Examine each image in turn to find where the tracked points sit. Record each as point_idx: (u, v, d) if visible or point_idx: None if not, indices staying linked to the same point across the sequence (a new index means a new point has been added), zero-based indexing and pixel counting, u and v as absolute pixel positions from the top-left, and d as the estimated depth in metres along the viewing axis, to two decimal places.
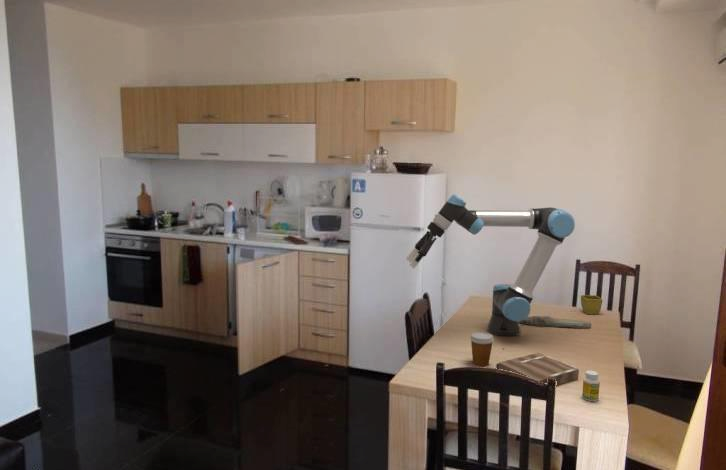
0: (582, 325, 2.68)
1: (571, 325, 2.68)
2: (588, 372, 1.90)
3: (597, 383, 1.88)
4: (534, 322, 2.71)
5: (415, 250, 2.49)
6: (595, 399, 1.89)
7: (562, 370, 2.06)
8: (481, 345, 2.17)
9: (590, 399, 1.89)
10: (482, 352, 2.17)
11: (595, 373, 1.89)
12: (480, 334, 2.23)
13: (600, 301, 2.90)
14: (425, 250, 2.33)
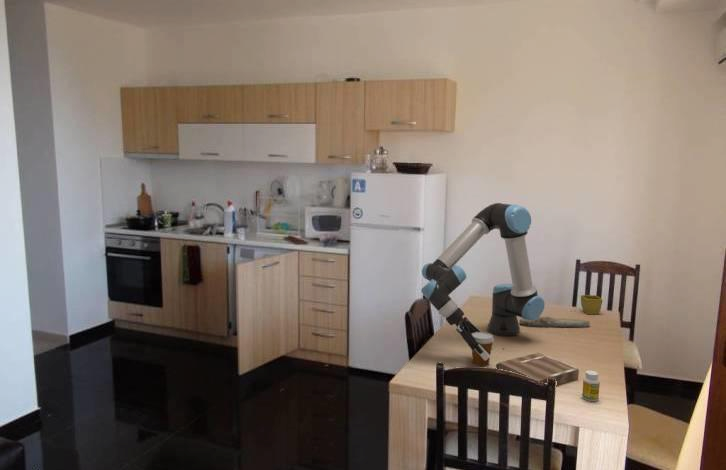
0: (582, 324, 2.70)
1: (572, 324, 2.69)
2: (588, 372, 1.90)
3: (597, 383, 1.88)
4: (536, 323, 2.69)
5: None
6: (595, 399, 1.89)
7: (562, 370, 2.06)
8: (481, 345, 2.17)
9: (590, 399, 1.89)
10: None
11: (595, 373, 1.89)
12: (480, 334, 2.23)
13: (600, 301, 2.90)
14: (470, 343, 2.14)
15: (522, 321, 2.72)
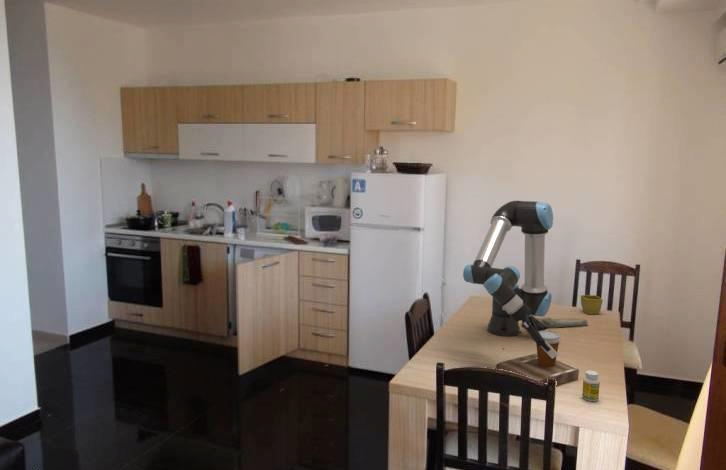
0: (582, 323, 2.72)
1: (572, 324, 2.70)
2: (588, 372, 1.90)
3: (597, 383, 1.88)
4: None
5: None
6: (595, 399, 1.89)
7: (562, 370, 2.06)
8: None
9: (590, 399, 1.89)
10: None
11: (595, 373, 1.89)
12: (545, 333, 2.12)
13: (600, 301, 2.90)
14: (537, 339, 2.00)
15: None
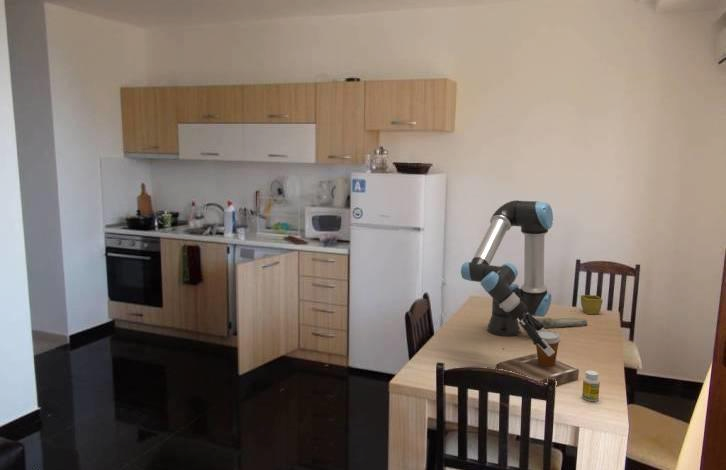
0: (581, 323, 2.72)
1: (572, 324, 2.70)
2: (588, 372, 1.90)
3: (597, 383, 1.88)
4: None
5: None
6: (595, 399, 1.89)
7: (562, 370, 2.06)
8: None
9: (590, 399, 1.89)
10: None
11: (595, 373, 1.89)
12: (544, 333, 2.12)
13: (600, 301, 2.90)
14: (533, 337, 2.00)
15: None
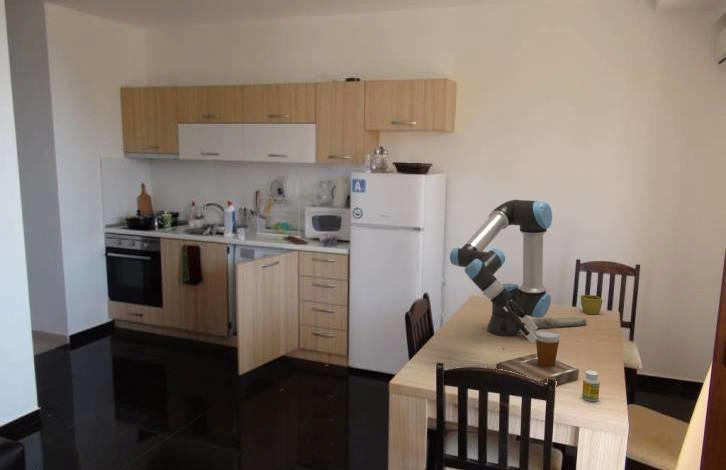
0: (581, 322, 2.72)
1: (572, 323, 2.71)
2: (588, 372, 1.90)
3: (597, 383, 1.88)
4: (541, 325, 2.66)
5: (524, 319, 2.16)
6: (595, 399, 1.89)
7: (562, 370, 2.06)
8: (548, 344, 2.07)
9: (590, 399, 1.89)
10: (550, 351, 2.07)
11: (595, 373, 1.89)
12: (545, 333, 2.13)
13: (600, 301, 2.90)
14: (516, 323, 2.01)
15: None
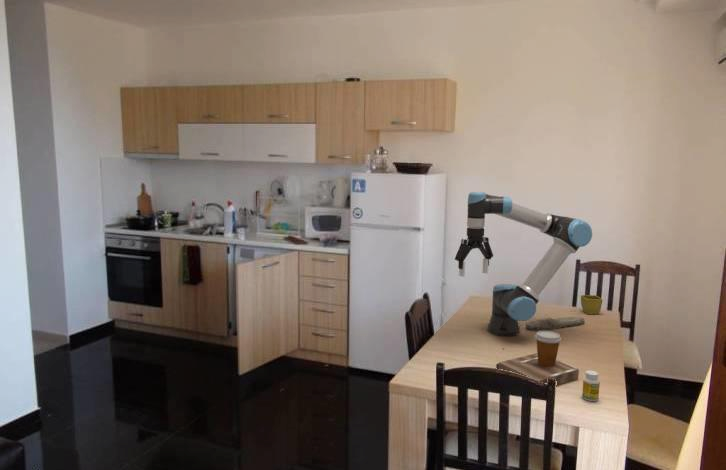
0: (580, 321, 2.74)
1: (573, 323, 2.71)
2: (588, 372, 1.90)
3: (597, 383, 1.88)
4: (545, 326, 2.65)
5: (484, 260, 2.45)
6: (595, 399, 1.89)
7: (562, 370, 2.06)
8: (548, 344, 2.07)
9: (590, 399, 1.89)
10: (550, 351, 2.07)
11: (595, 373, 1.89)
12: (545, 333, 2.13)
13: (600, 301, 2.90)
14: (457, 255, 2.36)
15: (531, 326, 2.64)
